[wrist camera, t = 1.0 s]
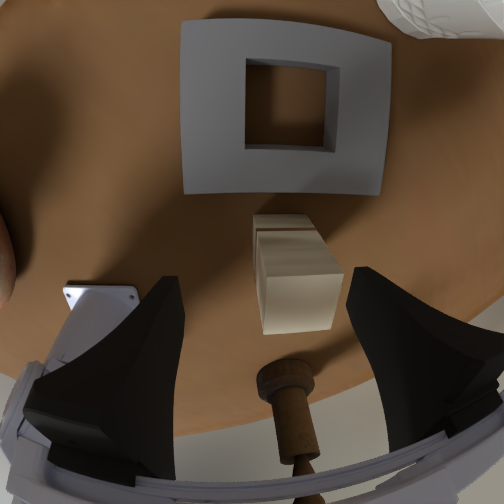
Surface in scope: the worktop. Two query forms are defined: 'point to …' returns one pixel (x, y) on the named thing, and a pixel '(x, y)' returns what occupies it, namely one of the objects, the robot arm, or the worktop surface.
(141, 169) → the worktop surface
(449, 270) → the worktop surface
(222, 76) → the socket board
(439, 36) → the white cup
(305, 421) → the brown capped rod
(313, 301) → the peg
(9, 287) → the ceramic jug
